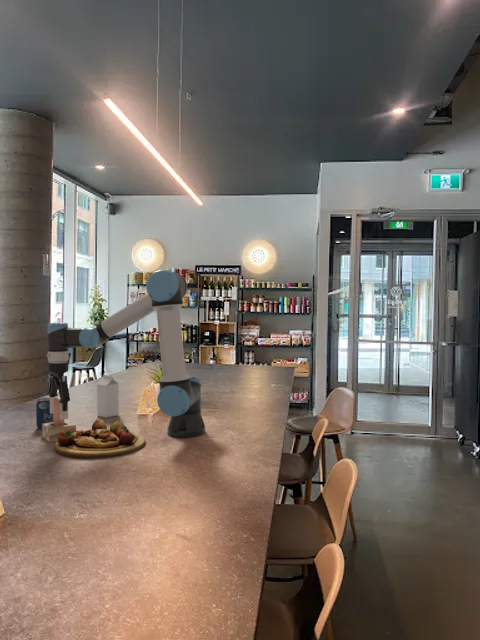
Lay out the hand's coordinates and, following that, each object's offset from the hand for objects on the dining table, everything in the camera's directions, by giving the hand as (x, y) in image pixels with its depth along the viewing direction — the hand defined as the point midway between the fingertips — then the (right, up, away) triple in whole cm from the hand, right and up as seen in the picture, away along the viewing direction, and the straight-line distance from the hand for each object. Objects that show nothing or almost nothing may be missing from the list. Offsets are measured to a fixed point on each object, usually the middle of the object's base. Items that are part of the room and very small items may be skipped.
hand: (58, 416), depth 192 cm
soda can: (-11, -8, +15) cm, 21 cm away
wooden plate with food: (+20, -9, -12) cm, 25 cm away
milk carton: (+9, -8, +38) cm, 40 cm away
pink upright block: (0, -7, 0) cm, 7 cm away
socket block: (0, -8, 0) cm, 8 cm away
